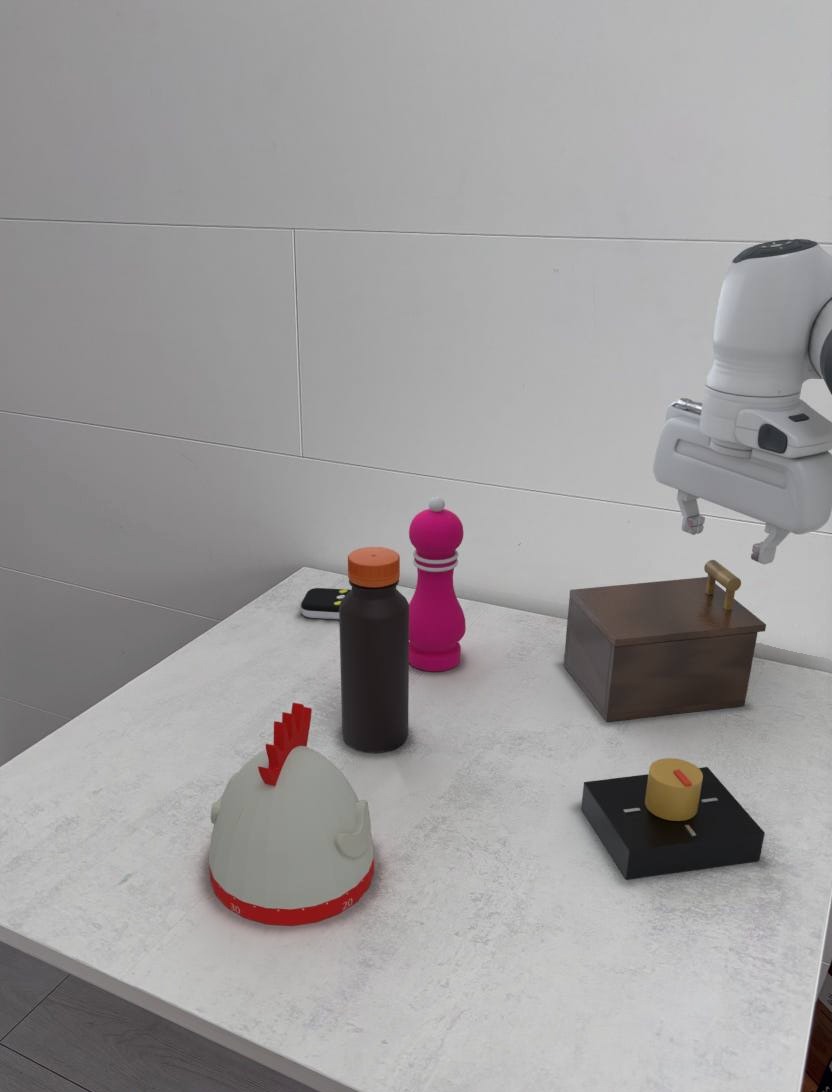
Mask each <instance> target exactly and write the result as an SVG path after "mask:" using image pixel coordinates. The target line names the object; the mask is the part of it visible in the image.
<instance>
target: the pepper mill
mask: <svg viewBox="0 0 832 1092" xmlns="http://www.w3.org/2000/svg"><path fill="white" fill-rule="evenodd" d="M445 507H446V502H445V500H444V498H442V497H441V496H437V495H436V496H433V497H431V498H430V499H429V501H428V508H427V509H423V510H422V511H420V512H418V513H417V514H415V516H414V517H413V518H412V520H411V522H410V525H409V527H408V529H409V530H408V537H409V541H410V543H411V545H412V546H413V548H414V549H415V550H414V551H413V552H412V555H413V560H412V563H413V565H414V567H416V571H417V578H416V579H417V580H416V582H417V583H416V585H415V590H414V593H413V595H412V597H411V599H410V601H409V602H408V603H409V665H411V667H413V668H415V669H418V670H421V671H425V672H443V671H448V670H451V669H454V668H455V667H457V666H458V665H459V664H460V662H461V658H462V657H461V654H462V653H461V652H462V646H461V644H460V641H461V640H462V639H463V637H464V636H465V634H466V630H467V625H466V617H465V613H464V610H463V608H462V606H461V604H460V601H459V600H458V598H457V595H456V592H455V587H454V570H455V568H457V566H458V565H459V560H458V557H459V551H457V549H458V548H459V547H460V546H461V544H462V542H463V540H464V533H465V532H464V526H463V522H462V521H461V519H460V517H459V516H458V515H457V514H456V513H454V512H453V511H451V510H449V509H446V508H445Z"/></svg>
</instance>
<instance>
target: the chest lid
mask: <svg viewBox="0 0 832 1092" xmlns="http://www.w3.org/2000/svg"><path fill="white" fill-rule="evenodd" d="M703 569H704V572H705V573H706V574H707V576H702V577H690V578H680V579H671V580H670V579H669V580H660V581H650V582H649V581H648V582H637V583H627V584H617V585H605V586H595V587H585V588H574V589H573V588H572V589H569V597H571V598H572V599H573V601H574V602H575V603H576V604H577V605H578V606H579V607H580V608H581V610H582V611H583V612H584V613H585V614H586V615H587V616H588V617H589V618H590V620H591V621H592V622H593V623H594V624H595V625H596V626H597V627H598V629H599V630H600V631H601V632H602V633H603V634H604V635H605V636H606V637H607V639H608V640H609V641H610V642H611V643H612V644H613V645H614V646H615V647H618V646H628V645H638V644H647V643H657V642H667V641H676V640H686V639H696V638H705V637H715V636H725V635H734V634H744V633H754V632H757V633H762V632H766V630H767V629H766V628H767V624H766V623H765V622H764V621H762V619H760V618H759V617H758V616H757V615H755V614H754V613H753V612H751V611H750V610H749V609H748V608H746V607H745V606H744V605H743V604H742V603H741V602H739V601H738V600H737V599H735V594H736V592H737V591H739V589H740V588H741V587H742V580H741V579H740V577H738V576H736V575H735V574H734V573H732V572H731V571H730V570H729V569H727V567H725V566H724V565H722V564H721V563H720V562H719V561H717V560H716V559H710V560H708V561H707V562H706V563H705V564H704V567H703ZM716 582H717V583H718V584H717V583H716ZM719 584H720V585H721V586H722V587H723V588H725V590H724V589H723V588H722V587H720V586H719Z"/></svg>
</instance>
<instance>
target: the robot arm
mask: <svg viewBox="0 0 832 1092" xmlns="http://www.w3.org/2000/svg"><path fill="white" fill-rule="evenodd" d="M721 285H722V286H721V289H720V294H719V297H718V303H717V305H716V306H717V307H716V311H715V313H716V314H715V317H714V323H713V329H712V337H711V342H712V349H713V357H712V358H713V359H712V363H711V366H710V369H709V372H708V373H707V376H706V379H705V384H704V389H703V395H702V396H703V397H702V402H699V401H693V400H692V399H689V398H687V397H680V398H679V399H678V400H675V401H673V402H672V403H670V405H669V406H667V408H666V412H665V418H664V419H665V420H664V425H663V427H662V430H661V432H660V436H659V439H658V441H657V442H658V443H657V447H656V451H655V455H654V459H653V465H652V473H653V475H654V479H655V480H656V482H658V483H660V484H661V485H664V486H667V487H670V488H672V489H675V490H677V494H676V495H677V496H676V500H677V503H678V506H679V509H680V510H679V511H680V512H681V515H682V523H681V531H683V532H685V533H688V534H690V535H692V536H695V535H698V534H701V533H702V532H703V531H704V524H705V520H706V517H705V516H704V515H701V514H700V510H699V504H698V500H699V499H702V500H704V501H707V502H710V503H712V504H715V505H718V506H720V507H723V508H725V509H729V510H731V511H734V512H736V513H739V514H742V515H743V516H747V517H749V518H751V519H755V520H757V521H760V522H763V523H765V526H764V533H766V534H767V536H766V537H765V539H764V540H763V541H761V542H756V543H753V544H752V549H751V552H752V553H751V554H750V559H751V560H752V561H754V562H756V563H759V564H762V565H768V564H771V563H773V562H774V560H775V557H776V551H777V547H778V546H780V544H781V543H782V542H783V541H784V540H785V539H786V538H787V537H788V535H789V534H790V533H791V534H794V535H798V536H799V535H805V534H808V533H812V532H815V531H818V530H820V529H821V528H822V527H823V526H825V525H827V523H828V522H829V520H830V517H831V513H832V453H831V452H830V451H831V450H832V421H831V420H829V419H828V418H826V417H825V416H824V415H822V414H821V413H819V412H818V411H816V410H815V409H814V408H813V407H811V405H809V404H808V403H807V402H806V401H804V400H803V399H801V395H802V388H803V384H804V383H805V382H806V381H808V380H823V381H824V383H825V385H826V387H827V389H828V391H829V393H830V395H832V255H831V254H830V253H828V252H827V251H826V250H824V249H823V248H822V247H821V245H820V244H819V242H817V241H816V240H810V239H806V238H805V239H804V238H794V239H789V238H788V239H779V240H772V241H767V242H763V243H759V244H755V245H752V246H750V247H747V248H744V249H743V250H742V251H741V252H740V253H738V254H737V255H736V256H735V257H734V258H733V259H732V260H731V262H730V264H729V266H728V267H727V269H726V273H725V275H724V278H723V281H722V284H721Z"/></svg>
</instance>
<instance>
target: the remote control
mask: <svg viewBox="0 0 832 1092" xmlns="http://www.w3.org/2000/svg"><path fill="white" fill-rule="evenodd" d="M351 590H352V589H347V588H346V589H345V588H328V587H325V588H324V587H314V588H310V589H309V590H307V592H306V593H305V594H304V596H303V599H302V601H301V603H300V612H301V614H302V615H303V616H304V617H307V618H310V619H327V620H339V605H340V603H341V600H342V599H343V598H344V597H345V596H346V595H347V594H348V593H349V592H350V591H351Z"/></svg>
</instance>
